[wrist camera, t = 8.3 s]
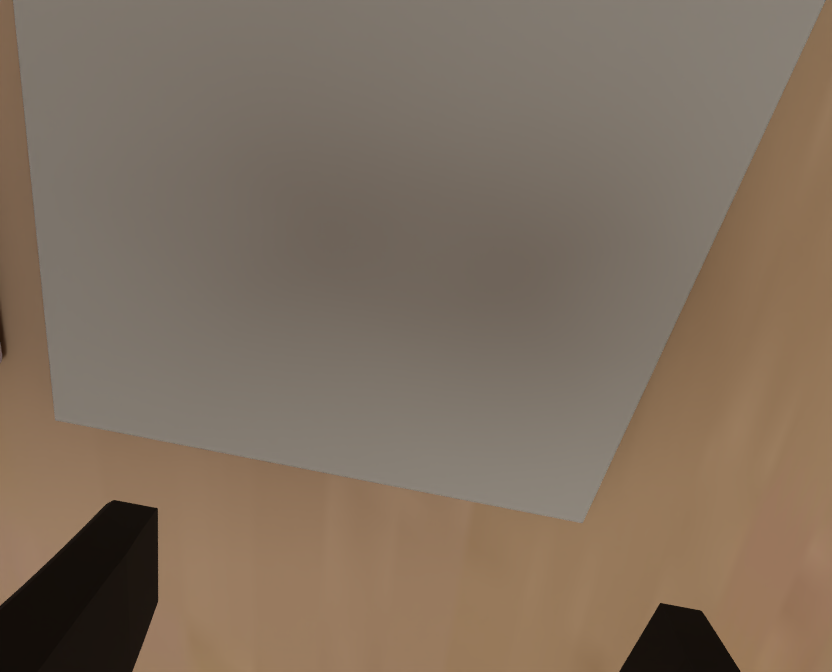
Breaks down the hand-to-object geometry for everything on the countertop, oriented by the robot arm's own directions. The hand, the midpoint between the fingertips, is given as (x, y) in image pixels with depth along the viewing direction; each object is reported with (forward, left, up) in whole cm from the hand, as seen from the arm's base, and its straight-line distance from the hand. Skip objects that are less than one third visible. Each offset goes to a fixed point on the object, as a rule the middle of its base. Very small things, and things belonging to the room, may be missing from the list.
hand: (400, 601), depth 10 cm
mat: (-2, +1, -10) cm, 11 cm away
